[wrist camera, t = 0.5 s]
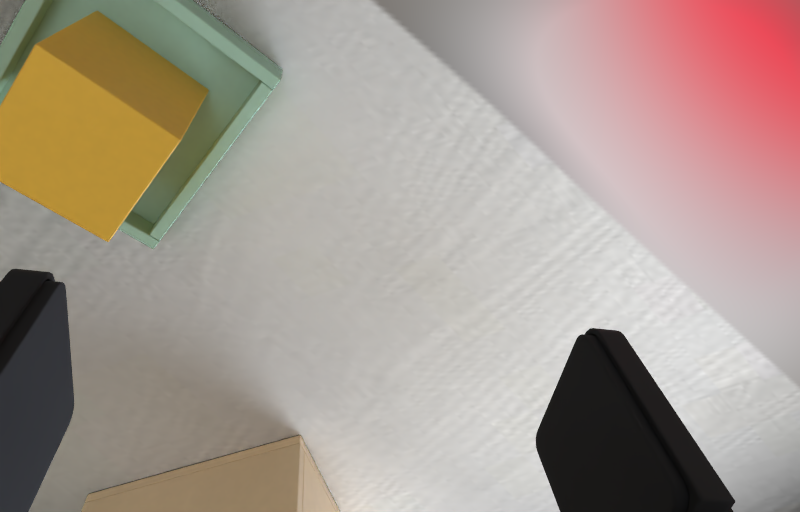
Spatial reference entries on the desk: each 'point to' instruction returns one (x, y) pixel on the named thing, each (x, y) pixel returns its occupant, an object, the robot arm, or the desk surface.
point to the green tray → (190, 52)
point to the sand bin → (228, 485)
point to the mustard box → (93, 122)
